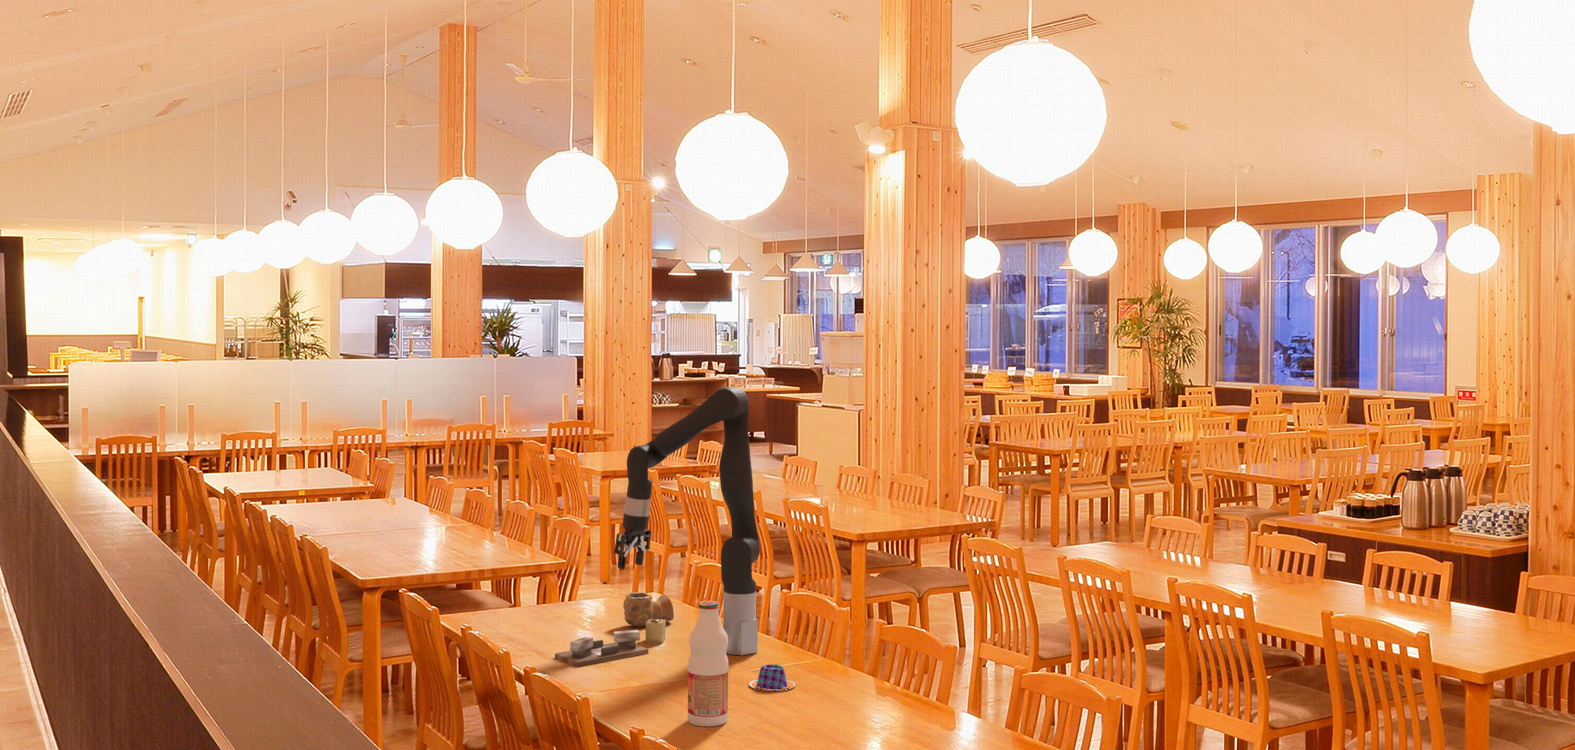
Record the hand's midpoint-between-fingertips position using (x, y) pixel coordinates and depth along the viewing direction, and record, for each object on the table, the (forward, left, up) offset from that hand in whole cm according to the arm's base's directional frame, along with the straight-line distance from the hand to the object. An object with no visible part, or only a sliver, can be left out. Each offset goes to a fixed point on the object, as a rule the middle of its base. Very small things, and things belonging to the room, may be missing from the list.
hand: (630, 566), depth 373 cm
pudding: (-63, -2, -22) cm, 66 cm away
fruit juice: (-76, +29, -22) cm, 84 cm away
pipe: (+11, -15, -22) cm, 29 cm away
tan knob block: (-7, -5, -22) cm, 23 cm away
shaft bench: (-11, +16, -22) cm, 29 cm away
